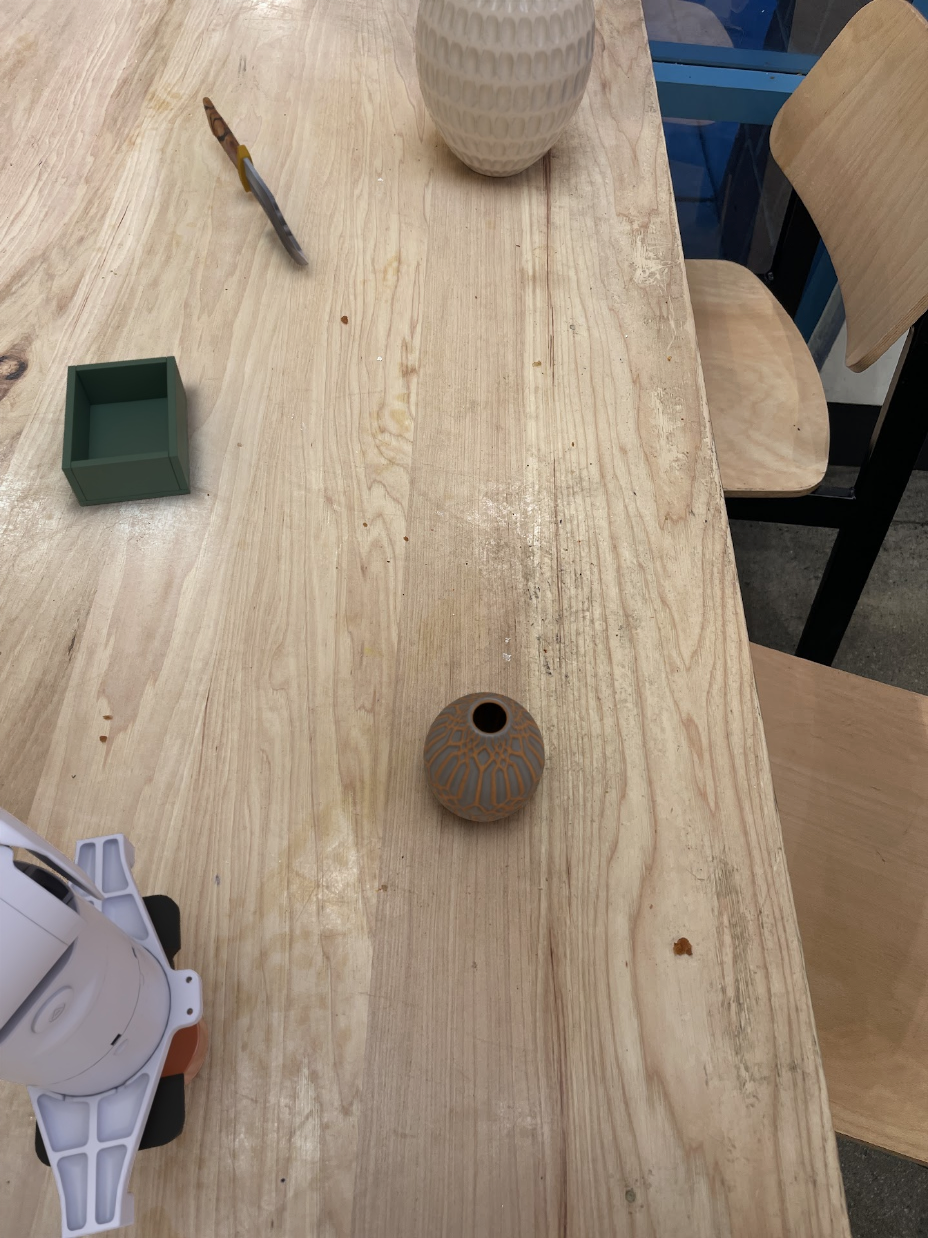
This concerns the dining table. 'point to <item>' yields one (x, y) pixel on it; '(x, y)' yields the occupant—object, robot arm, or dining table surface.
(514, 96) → the vase
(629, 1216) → the dining table surface
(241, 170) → the knife
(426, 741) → the vase
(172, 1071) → the cylinder
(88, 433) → the tub
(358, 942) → the dining table surface
